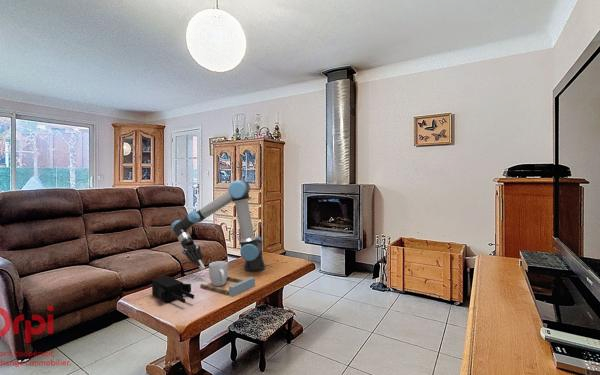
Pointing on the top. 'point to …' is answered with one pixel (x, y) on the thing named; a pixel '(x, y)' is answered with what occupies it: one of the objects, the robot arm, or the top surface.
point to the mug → (218, 272)
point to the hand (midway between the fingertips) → (203, 269)
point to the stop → (241, 286)
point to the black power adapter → (170, 289)
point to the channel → (219, 288)
